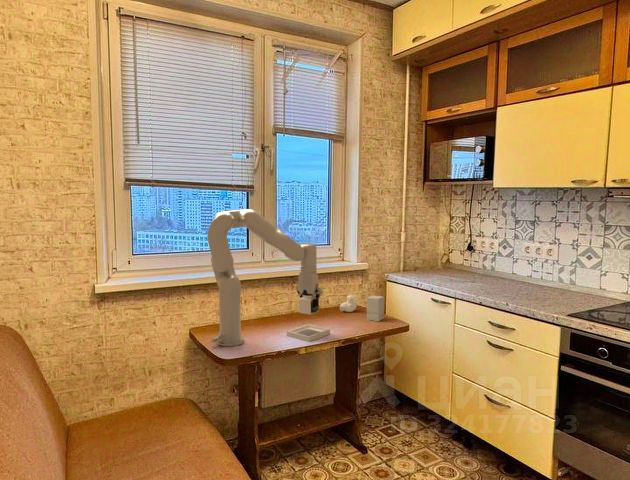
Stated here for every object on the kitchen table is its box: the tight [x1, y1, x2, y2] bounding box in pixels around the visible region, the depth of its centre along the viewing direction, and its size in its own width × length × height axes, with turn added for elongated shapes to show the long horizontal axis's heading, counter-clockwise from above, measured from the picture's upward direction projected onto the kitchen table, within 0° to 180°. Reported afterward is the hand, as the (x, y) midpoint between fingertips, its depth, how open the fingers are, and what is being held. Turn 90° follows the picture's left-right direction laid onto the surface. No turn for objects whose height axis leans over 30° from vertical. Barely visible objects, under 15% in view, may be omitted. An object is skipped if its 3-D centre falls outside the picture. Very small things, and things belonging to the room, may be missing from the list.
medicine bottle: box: [298, 290, 320, 315], centre depth 210 cm, size 7×7×12 cm
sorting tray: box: [286, 323, 331, 342], centre depth 211 cm, size 16×14×2 cm
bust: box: [339, 294, 358, 313], centre depth 256 cm, size 12×8×11 cm
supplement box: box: [366, 294, 385, 322], centre depth 239 cm, size 7×7×13 cm
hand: (308, 305), depth 210 cm, fingers closed on medicine bottle, 7 cm apart
